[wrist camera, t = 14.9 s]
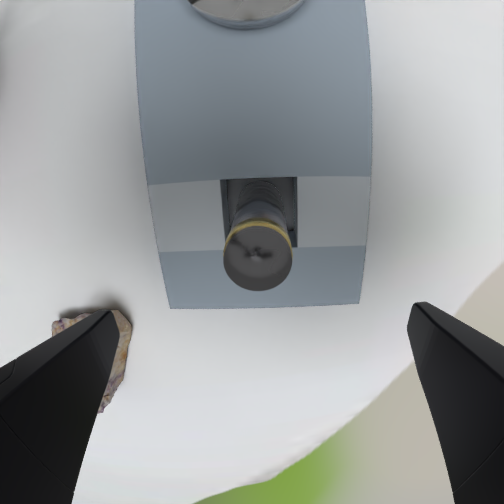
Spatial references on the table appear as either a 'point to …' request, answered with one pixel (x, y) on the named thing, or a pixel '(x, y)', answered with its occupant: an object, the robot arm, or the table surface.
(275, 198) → the pin
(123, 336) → the mineral specimen
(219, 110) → the plate
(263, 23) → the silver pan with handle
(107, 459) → the table surface
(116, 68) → the table surface
